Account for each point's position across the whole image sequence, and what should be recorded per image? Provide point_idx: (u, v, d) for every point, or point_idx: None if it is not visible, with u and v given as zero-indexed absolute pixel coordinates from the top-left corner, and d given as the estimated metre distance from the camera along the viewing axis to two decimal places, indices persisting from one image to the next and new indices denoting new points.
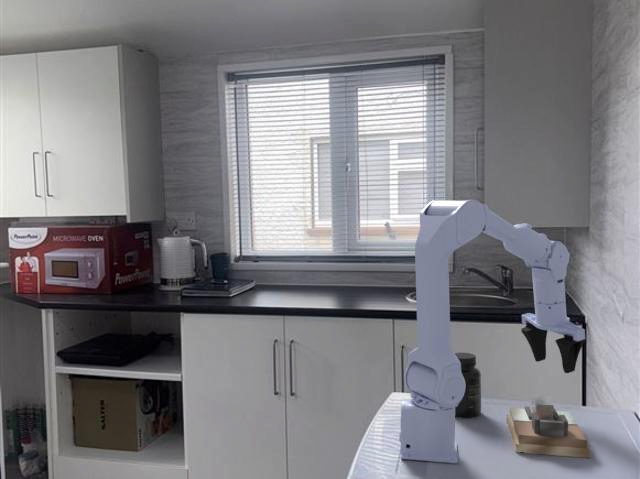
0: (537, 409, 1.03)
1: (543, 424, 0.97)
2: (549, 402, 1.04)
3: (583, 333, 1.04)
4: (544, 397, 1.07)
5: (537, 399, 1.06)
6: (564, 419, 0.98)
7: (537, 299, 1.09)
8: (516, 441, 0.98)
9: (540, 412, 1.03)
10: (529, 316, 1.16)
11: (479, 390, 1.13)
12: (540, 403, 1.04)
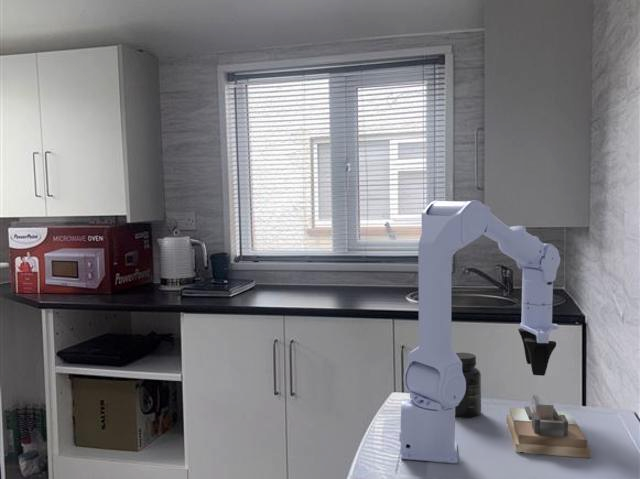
0: (537, 409, 1.03)
1: (543, 424, 0.97)
2: (549, 402, 1.04)
3: (546, 336, 1.05)
4: (544, 397, 1.07)
5: (537, 399, 1.06)
6: (564, 419, 0.98)
7: (525, 300, 1.11)
8: (516, 441, 0.98)
9: (540, 412, 1.03)
10: None
11: (479, 390, 1.13)
12: (540, 403, 1.04)
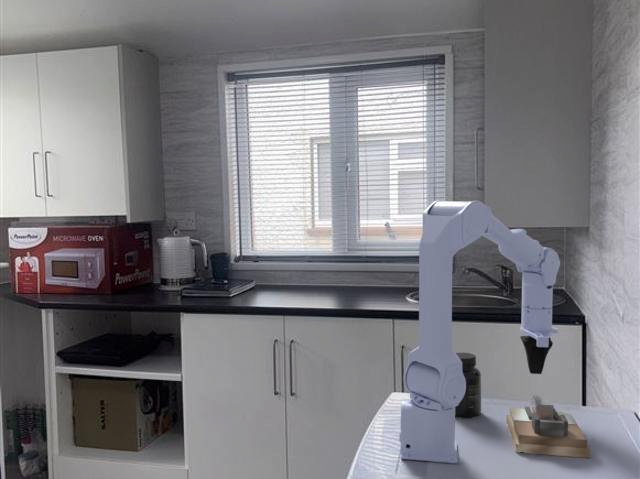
0: (537, 409, 1.03)
1: (543, 424, 0.97)
2: (549, 402, 1.04)
3: (546, 340, 1.05)
4: (544, 397, 1.07)
5: (537, 399, 1.06)
6: (564, 419, 0.98)
7: (525, 303, 1.11)
8: (516, 441, 0.98)
9: (540, 412, 1.03)
10: None
11: (479, 390, 1.13)
12: (540, 403, 1.04)
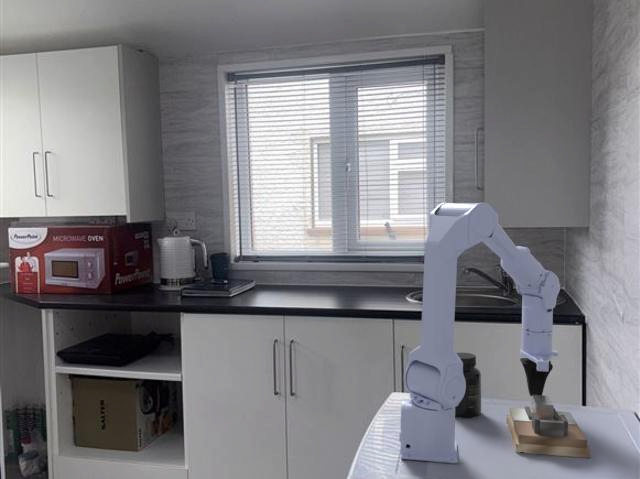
0: (537, 409, 1.03)
1: (543, 424, 0.97)
2: (549, 402, 1.04)
3: (546, 365, 1.05)
4: (544, 397, 1.07)
5: (537, 399, 1.06)
6: (564, 419, 0.98)
7: (525, 326, 1.10)
8: (516, 441, 0.98)
9: (540, 412, 1.03)
10: None
11: (479, 390, 1.13)
12: (540, 403, 1.04)
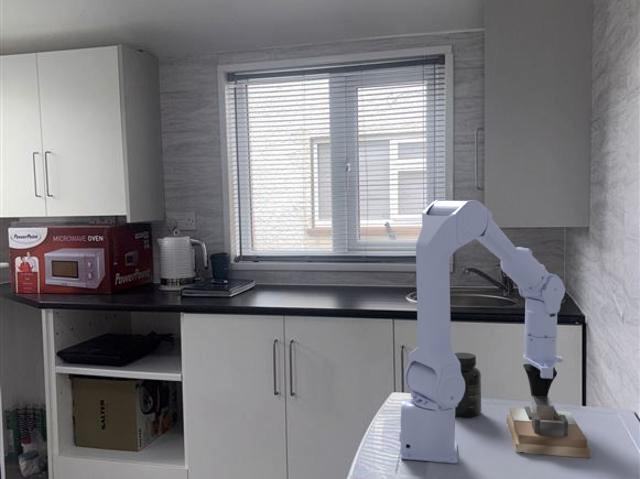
0: (537, 410, 1.03)
1: (543, 424, 0.97)
2: (549, 403, 1.04)
3: (551, 371, 1.01)
4: (544, 398, 1.06)
5: (537, 399, 1.06)
6: (564, 419, 0.98)
7: (527, 331, 1.07)
8: (516, 441, 0.98)
9: (540, 413, 1.03)
10: None
11: (479, 390, 1.13)
12: (540, 403, 1.03)
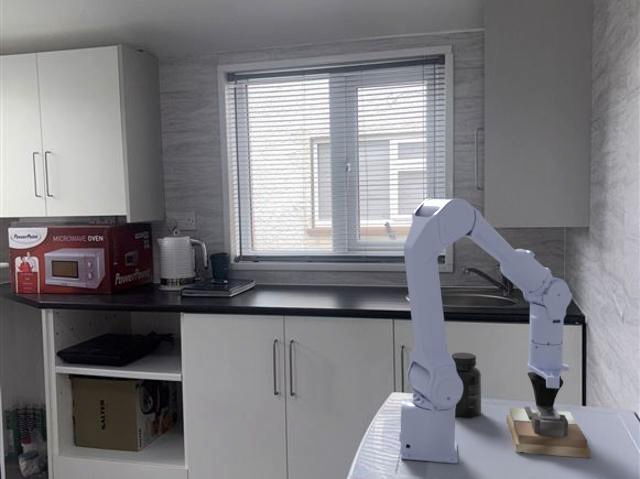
0: None
1: (543, 424, 0.97)
2: (555, 414, 0.99)
3: (557, 381, 0.96)
4: (550, 408, 1.01)
5: (542, 410, 1.00)
6: (564, 419, 0.98)
7: (531, 337, 1.02)
8: (516, 441, 0.98)
9: None
10: None
11: (479, 390, 1.13)
12: (546, 415, 0.98)
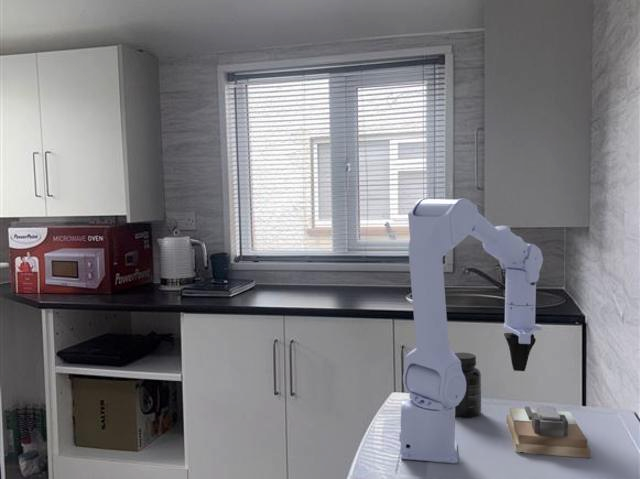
0: None
1: (543, 424, 0.97)
2: (555, 414, 0.99)
3: (528, 337, 1.05)
4: (550, 408, 1.01)
5: (542, 410, 1.00)
6: (564, 419, 0.98)
7: (509, 300, 1.10)
8: (516, 441, 0.98)
9: None
10: None
11: (479, 390, 1.13)
12: (546, 415, 0.98)
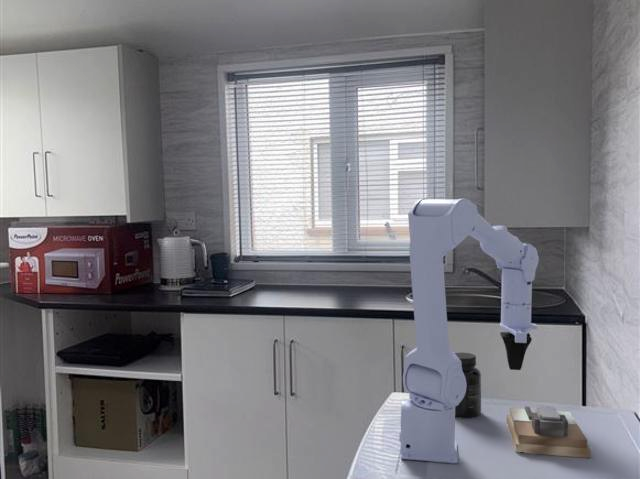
0: None
1: (543, 424, 0.97)
2: (555, 414, 0.99)
3: (524, 336, 1.05)
4: (550, 408, 1.01)
5: (542, 410, 1.00)
6: (564, 419, 0.98)
7: (506, 300, 1.11)
8: (516, 441, 0.98)
9: None
10: None
11: (479, 390, 1.13)
12: (546, 415, 0.98)
